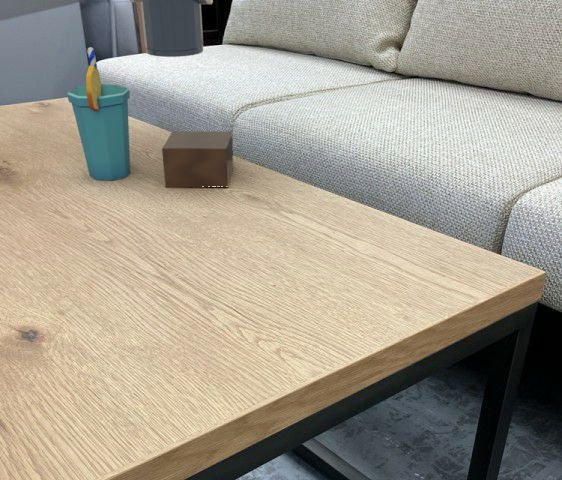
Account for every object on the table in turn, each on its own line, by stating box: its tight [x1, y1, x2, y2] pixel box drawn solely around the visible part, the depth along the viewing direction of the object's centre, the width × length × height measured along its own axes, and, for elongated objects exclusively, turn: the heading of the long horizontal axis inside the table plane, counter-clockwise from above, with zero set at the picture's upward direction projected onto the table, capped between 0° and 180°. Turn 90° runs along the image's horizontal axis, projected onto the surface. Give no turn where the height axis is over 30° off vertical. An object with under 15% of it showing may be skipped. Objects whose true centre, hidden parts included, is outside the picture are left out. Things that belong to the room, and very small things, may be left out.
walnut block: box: [161, 130, 234, 188], centre depth 91 cm, size 8×8×5 cm
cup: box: [66, 46, 131, 181], centre depth 91 cm, size 14×8×15 cm, turn 17°
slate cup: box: [139, 0, 204, 58], centre depth 77 cm, size 6×6×10 cm
